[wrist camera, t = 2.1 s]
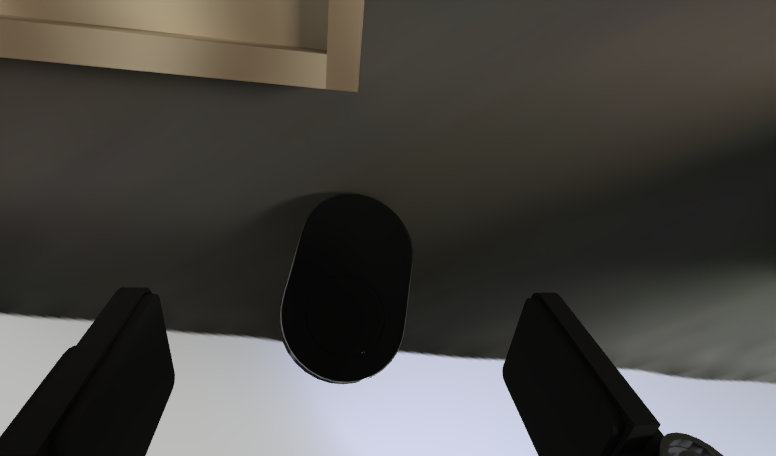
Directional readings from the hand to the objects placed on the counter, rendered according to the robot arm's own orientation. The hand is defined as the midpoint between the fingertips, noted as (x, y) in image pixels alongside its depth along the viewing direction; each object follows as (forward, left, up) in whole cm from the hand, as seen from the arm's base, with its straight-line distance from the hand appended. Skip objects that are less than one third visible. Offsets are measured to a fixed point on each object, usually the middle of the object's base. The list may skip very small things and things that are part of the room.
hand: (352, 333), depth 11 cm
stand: (0, +3, -11) cm, 11 cm away
